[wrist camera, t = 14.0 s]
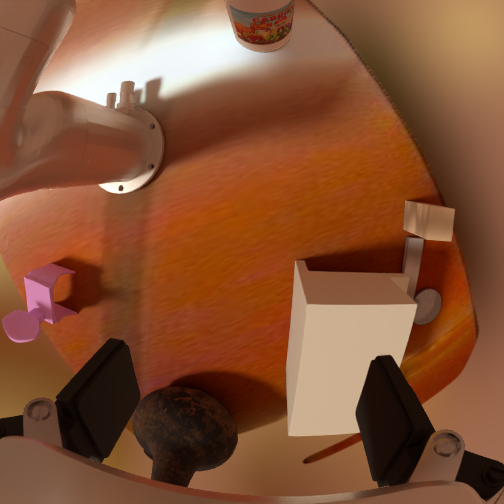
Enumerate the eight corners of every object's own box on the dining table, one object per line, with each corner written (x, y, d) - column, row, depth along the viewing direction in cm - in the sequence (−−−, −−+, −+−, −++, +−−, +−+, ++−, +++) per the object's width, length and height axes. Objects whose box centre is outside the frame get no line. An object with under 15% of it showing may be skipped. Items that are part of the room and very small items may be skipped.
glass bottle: (130, 392, 46) (65, 500, 19) (191, 354, 43) (125, 505, 15) (194, 444, 49) (162, 552, 22) (261, 417, 45) (249, 554, 18)
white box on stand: (295, 260, 38) (307, 304, 24) (391, 263, 37) (441, 303, 23) (285, 369, 42) (288, 435, 28) (369, 368, 41) (394, 427, 28)
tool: (405, 200, 34) (430, 205, 28) (428, 203, 34) (454, 209, 27) (384, 331, 39) (400, 356, 33) (406, 330, 39) (424, 353, 32)
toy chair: (80, 270, 41) (19, 304, 26) (82, 315, 43) (30, 358, 28) (47, 259, 41) (-12, 286, 26) (50, 302, 43) (-2, 337, 28)
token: (410, 288, 38) (413, 291, 36) (440, 285, 37) (444, 288, 36) (404, 323, 39) (407, 327, 38) (434, 319, 39) (437, 322, 37)
